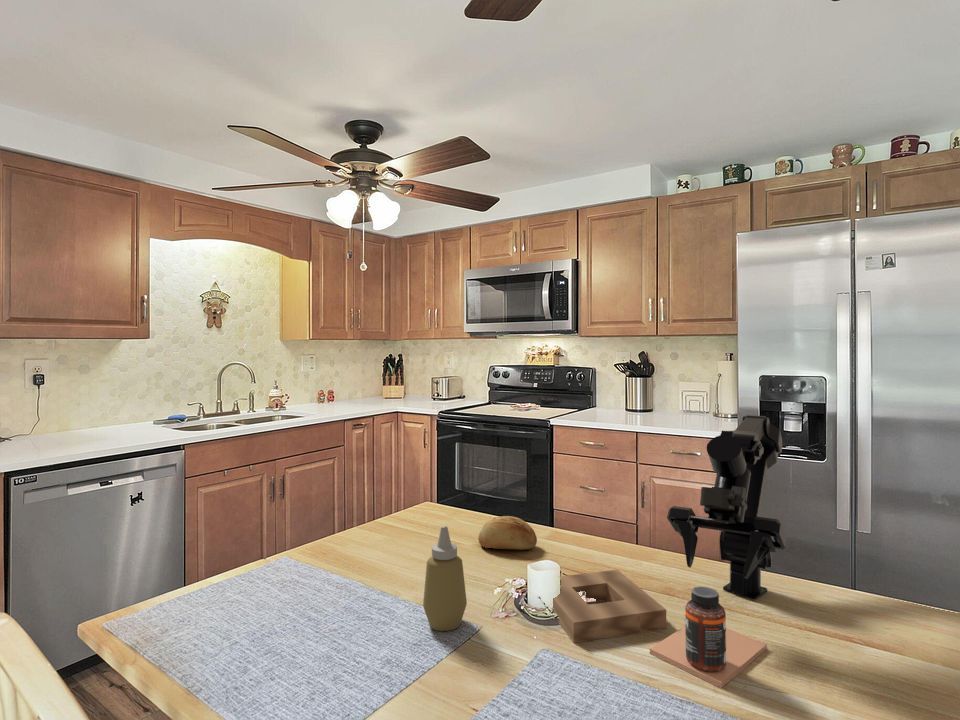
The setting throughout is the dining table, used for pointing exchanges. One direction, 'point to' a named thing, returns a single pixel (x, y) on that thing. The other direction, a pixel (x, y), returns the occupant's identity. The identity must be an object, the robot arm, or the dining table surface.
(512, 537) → the bread roll
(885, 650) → the dining table surface
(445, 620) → the squeeze bottle
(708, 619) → the supplement bottle
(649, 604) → the walnut holder
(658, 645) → the terracotta tile
